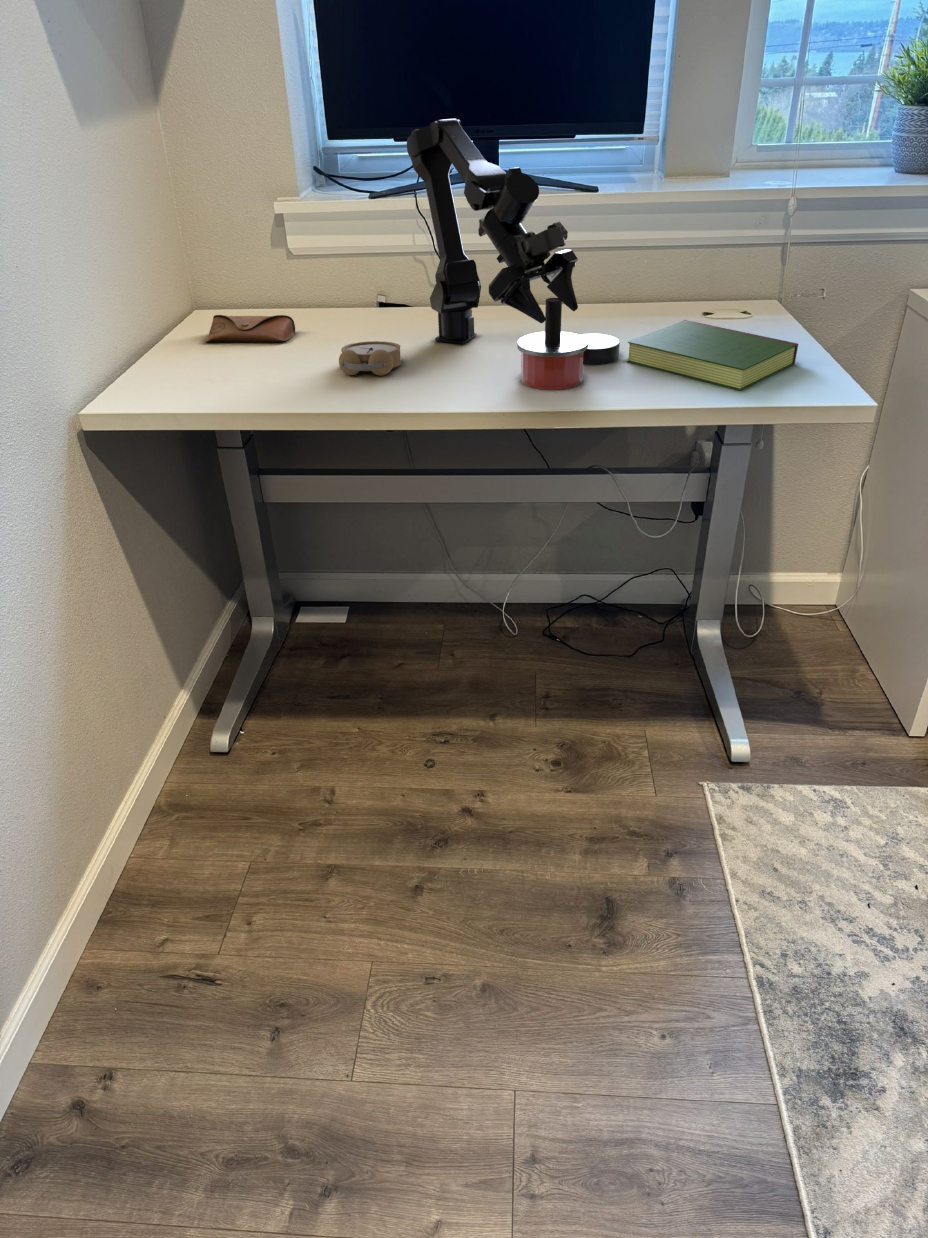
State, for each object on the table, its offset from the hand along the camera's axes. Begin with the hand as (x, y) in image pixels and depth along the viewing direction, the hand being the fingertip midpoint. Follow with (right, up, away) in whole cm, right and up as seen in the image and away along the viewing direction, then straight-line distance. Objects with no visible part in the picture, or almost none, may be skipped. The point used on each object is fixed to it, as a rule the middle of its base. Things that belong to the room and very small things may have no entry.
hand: (560, 315), depth 151 cm
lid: (-1, -4, +4) cm, 6 cm away
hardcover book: (+29, -5, +13) cm, 32 cm away
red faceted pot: (-1, -9, +7) cm, 12 cm away
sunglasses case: (-62, +7, +35) cm, 71 cm away
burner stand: (+8, -2, +17) cm, 19 cm away
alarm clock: (-34, -5, +15) cm, 38 cm away
